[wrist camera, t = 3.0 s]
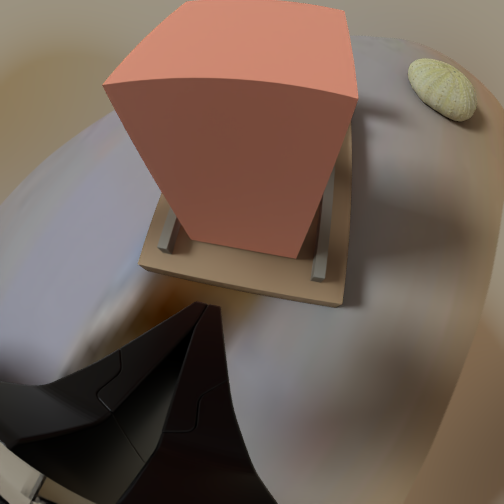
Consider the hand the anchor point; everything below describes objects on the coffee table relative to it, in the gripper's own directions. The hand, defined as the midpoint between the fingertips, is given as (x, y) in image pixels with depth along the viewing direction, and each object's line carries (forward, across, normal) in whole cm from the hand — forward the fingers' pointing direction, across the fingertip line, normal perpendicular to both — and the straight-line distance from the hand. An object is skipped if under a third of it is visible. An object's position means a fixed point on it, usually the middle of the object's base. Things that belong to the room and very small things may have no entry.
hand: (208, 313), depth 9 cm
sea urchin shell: (+25, -18, -14) cm, 34 cm away
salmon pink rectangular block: (+9, 0, -1) cm, 9 cm away
